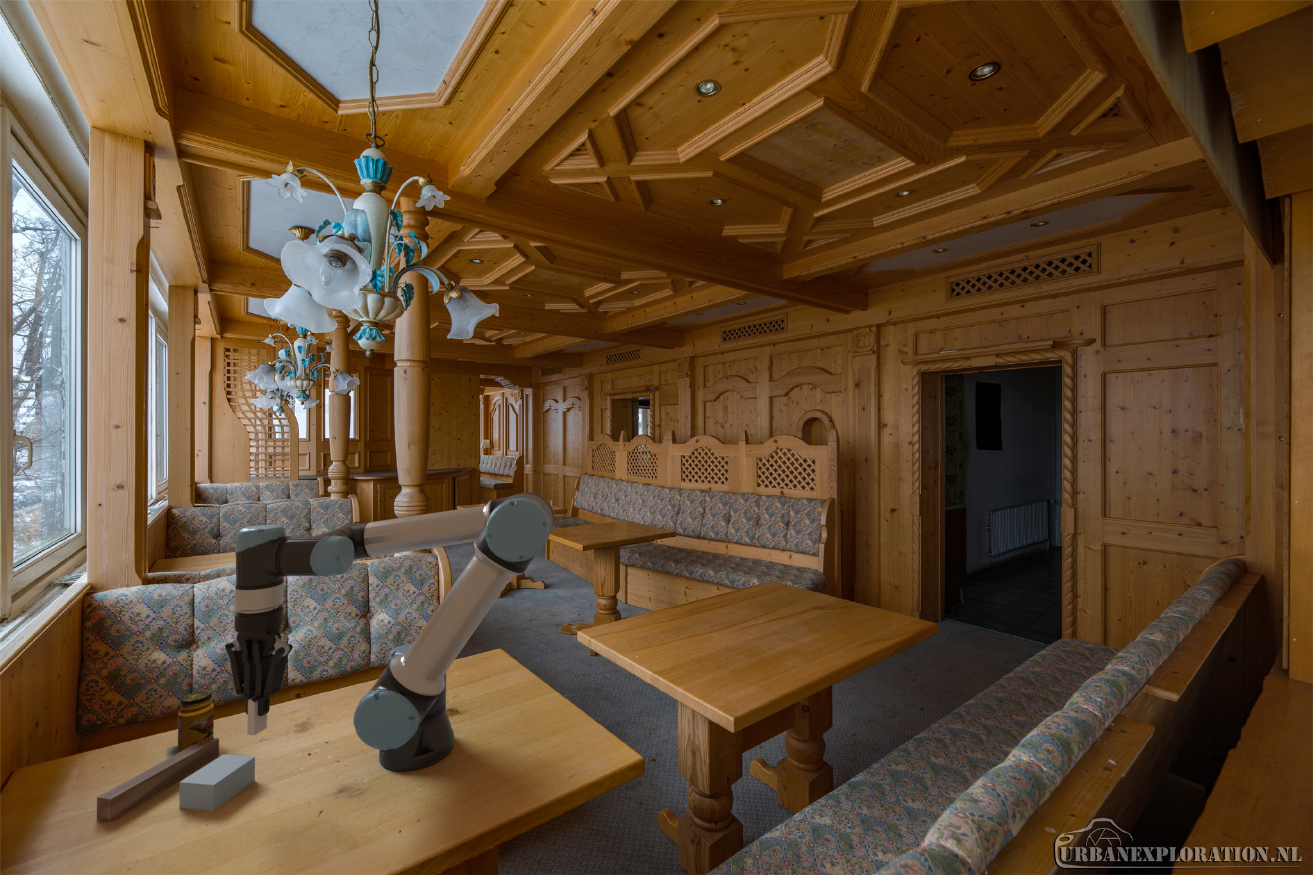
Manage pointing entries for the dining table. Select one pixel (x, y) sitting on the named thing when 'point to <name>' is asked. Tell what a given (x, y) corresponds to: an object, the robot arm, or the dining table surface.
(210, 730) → the condiment
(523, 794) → the dining table surface
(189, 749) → the board
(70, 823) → the dining table surface
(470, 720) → the dining table surface
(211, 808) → the block
